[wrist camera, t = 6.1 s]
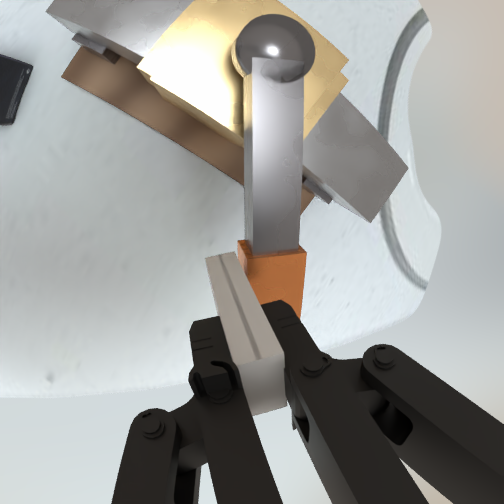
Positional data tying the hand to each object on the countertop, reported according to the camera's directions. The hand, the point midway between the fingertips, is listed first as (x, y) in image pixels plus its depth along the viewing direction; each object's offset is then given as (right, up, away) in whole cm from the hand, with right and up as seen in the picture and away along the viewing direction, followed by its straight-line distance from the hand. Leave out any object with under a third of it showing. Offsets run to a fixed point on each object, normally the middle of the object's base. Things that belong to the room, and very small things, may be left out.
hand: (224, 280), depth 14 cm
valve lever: (+2, +4, -1) cm, 5 cm away
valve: (-1, +15, +8) cm, 17 cm away
